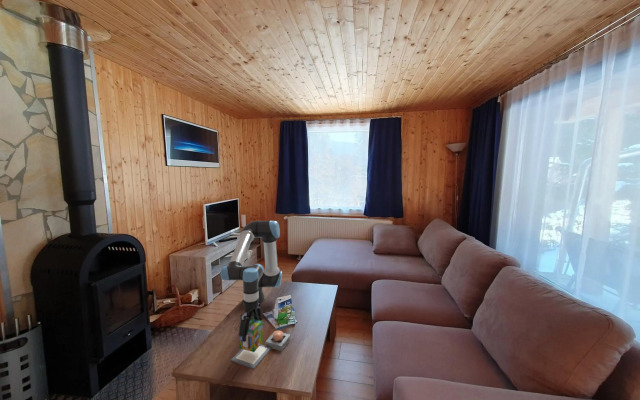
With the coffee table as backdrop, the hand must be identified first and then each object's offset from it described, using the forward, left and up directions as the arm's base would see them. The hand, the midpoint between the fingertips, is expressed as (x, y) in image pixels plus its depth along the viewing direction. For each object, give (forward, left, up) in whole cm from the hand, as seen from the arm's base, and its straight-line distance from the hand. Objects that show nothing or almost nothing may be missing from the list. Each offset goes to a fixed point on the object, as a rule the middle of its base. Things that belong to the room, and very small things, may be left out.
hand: (251, 340), depth 126 cm
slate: (0, 0, -8) cm, 8 cm away
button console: (-13, +8, -8) cm, 17 cm away
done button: (-13, +8, -5) cm, 16 cm away
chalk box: (0, 0, -3) cm, 3 cm away
